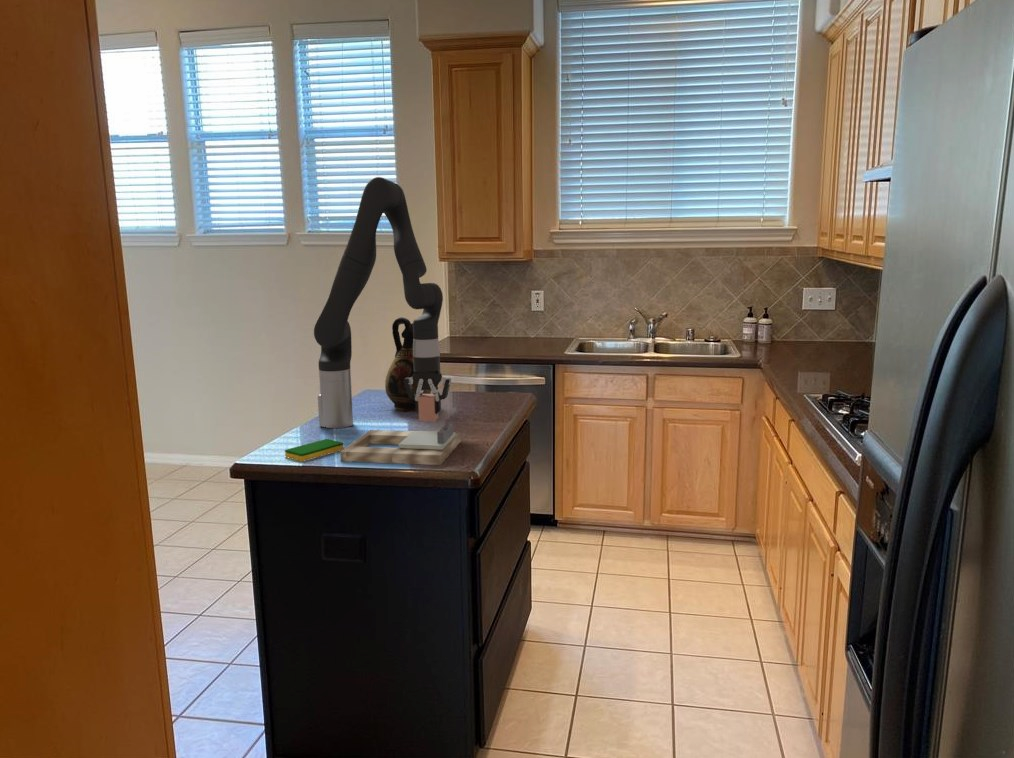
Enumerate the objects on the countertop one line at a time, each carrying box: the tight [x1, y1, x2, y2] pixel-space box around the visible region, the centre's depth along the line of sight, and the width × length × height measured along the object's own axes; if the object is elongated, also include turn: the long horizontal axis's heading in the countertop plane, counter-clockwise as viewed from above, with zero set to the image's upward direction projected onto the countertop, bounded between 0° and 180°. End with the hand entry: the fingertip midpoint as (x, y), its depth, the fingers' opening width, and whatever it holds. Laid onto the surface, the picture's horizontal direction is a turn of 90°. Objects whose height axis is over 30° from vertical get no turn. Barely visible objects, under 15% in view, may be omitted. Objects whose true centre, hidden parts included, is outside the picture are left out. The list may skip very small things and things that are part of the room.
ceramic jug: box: [384, 317, 432, 412], centre depth 246 cm, size 17×15×30 cm
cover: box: [398, 422, 457, 450], centre depth 195 cm, size 12×14×4 cm
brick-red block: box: [418, 393, 439, 422], centre depth 214 cm, size 4×4×7 cm
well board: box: [339, 429, 462, 466], centre depth 197 cm, size 26×22×2 cm
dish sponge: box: [284, 438, 345, 462], centre depth 196 cm, size 7×14×2 cm, turn 143°
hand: (428, 413), depth 215 cm, fingers closed on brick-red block, 4 cm apart
